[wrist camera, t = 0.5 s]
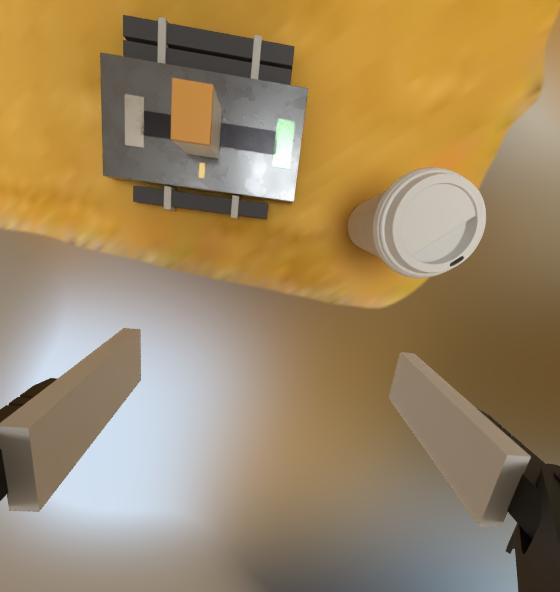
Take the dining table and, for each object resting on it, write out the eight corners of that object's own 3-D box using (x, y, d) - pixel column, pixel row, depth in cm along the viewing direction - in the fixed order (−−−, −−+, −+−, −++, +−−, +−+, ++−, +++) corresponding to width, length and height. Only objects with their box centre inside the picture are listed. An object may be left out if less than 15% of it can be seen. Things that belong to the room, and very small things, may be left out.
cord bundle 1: (131, 23, 31) (122, 10, 29) (293, 53, 32) (295, 42, 30) (131, 72, 32) (122, 62, 30) (287, 98, 33) (289, 90, 31)
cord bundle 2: (139, 184, 35) (132, 181, 33) (268, 201, 36) (268, 200, 34) (139, 206, 35) (132, 205, 33) (266, 222, 37) (266, 222, 35)
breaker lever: (188, 104, 30) (172, 77, 25) (221, 109, 31) (212, 84, 25) (186, 153, 32) (170, 138, 26) (218, 158, 32) (209, 144, 26)
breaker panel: (112, 66, 31) (99, 51, 29) (304, 98, 33) (308, 87, 31) (114, 179, 34) (102, 175, 32) (291, 203, 36) (293, 201, 34)
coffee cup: (341, 267, 39) (388, 292, 24) (331, 195, 36) (376, 174, 22) (408, 253, 39) (496, 270, 24) (402, 181, 36) (496, 150, 22)
